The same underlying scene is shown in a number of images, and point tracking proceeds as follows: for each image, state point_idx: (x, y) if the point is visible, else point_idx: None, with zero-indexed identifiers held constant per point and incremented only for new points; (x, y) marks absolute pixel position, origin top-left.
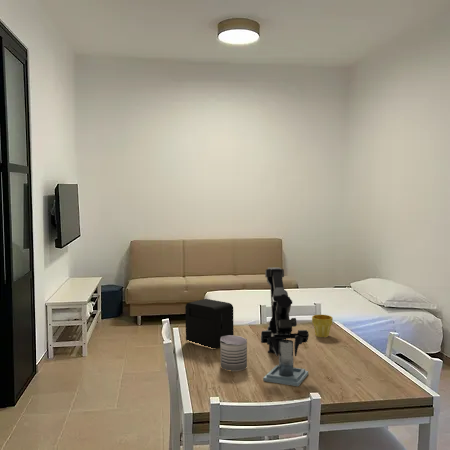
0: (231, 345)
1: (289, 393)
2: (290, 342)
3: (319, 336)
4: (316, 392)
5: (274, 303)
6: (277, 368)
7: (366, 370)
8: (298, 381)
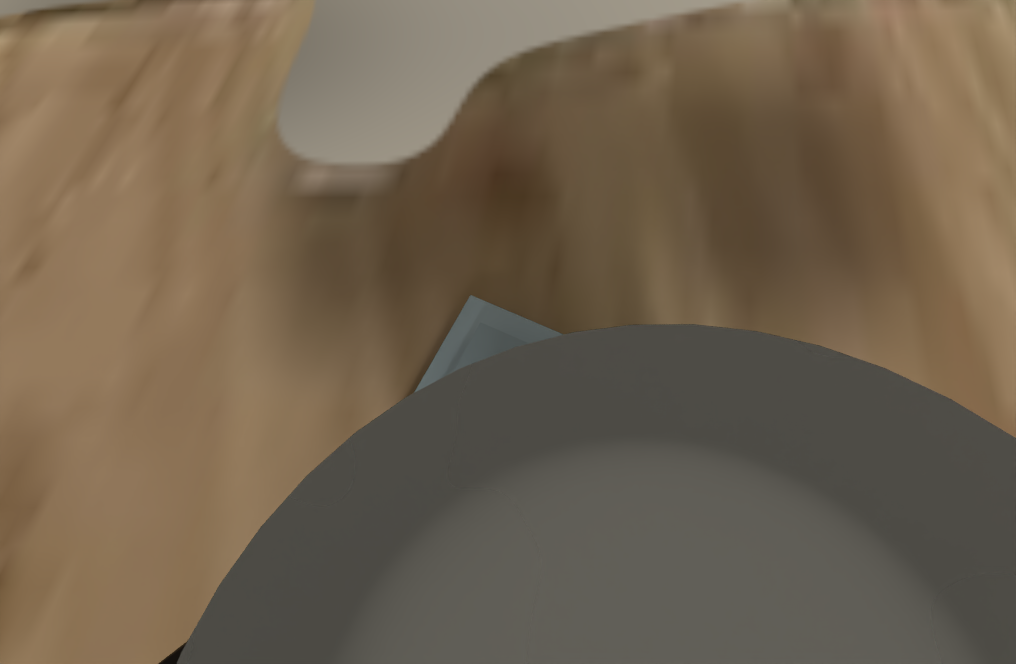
0: None
1: (605, 143)
2: (384, 587)
3: None
4: (322, 168)
5: None
6: None
7: None
8: (455, 349)
